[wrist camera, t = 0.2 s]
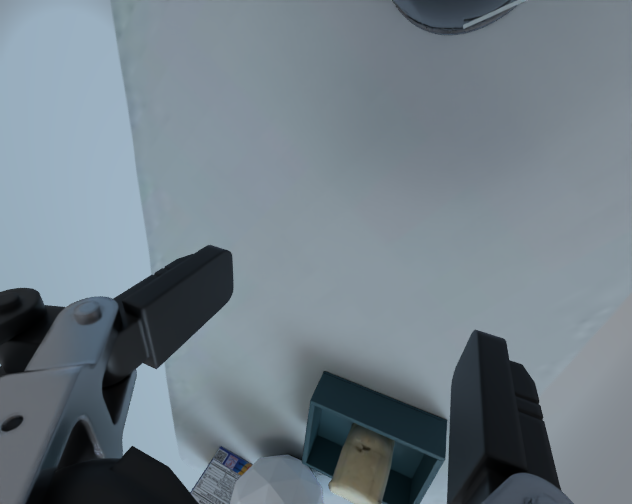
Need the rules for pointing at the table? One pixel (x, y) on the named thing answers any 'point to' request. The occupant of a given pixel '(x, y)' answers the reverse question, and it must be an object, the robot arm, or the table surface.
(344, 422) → the box
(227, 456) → the beverage box
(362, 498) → the cream rounded oblong block
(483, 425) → the robot arm
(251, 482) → the geodesic sphere
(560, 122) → the table surface
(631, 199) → the table surface
